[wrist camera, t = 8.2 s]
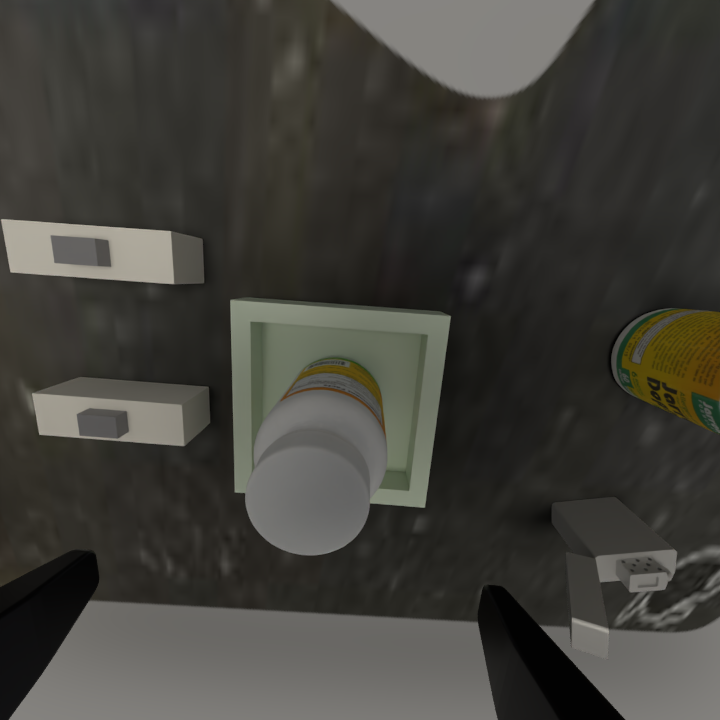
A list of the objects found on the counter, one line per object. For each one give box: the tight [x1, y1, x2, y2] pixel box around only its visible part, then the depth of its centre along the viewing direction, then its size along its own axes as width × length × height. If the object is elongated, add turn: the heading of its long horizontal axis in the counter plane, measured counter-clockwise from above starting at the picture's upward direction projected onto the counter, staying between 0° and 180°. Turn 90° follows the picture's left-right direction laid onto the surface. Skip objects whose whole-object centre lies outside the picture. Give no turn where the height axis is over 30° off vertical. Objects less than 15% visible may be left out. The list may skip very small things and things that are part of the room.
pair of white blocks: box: [1, 219, 210, 446], centre depth 18 cm, size 11×8×4 cm
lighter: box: [552, 497, 677, 660], centre depth 18 cm, size 7×2×8 cm, turn 98°
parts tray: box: [230, 297, 451, 508], centre depth 19 cm, size 11×11×2 cm
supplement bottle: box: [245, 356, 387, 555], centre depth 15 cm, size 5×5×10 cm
